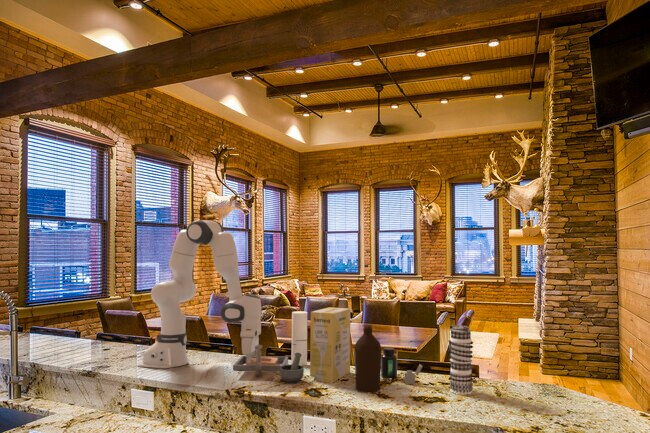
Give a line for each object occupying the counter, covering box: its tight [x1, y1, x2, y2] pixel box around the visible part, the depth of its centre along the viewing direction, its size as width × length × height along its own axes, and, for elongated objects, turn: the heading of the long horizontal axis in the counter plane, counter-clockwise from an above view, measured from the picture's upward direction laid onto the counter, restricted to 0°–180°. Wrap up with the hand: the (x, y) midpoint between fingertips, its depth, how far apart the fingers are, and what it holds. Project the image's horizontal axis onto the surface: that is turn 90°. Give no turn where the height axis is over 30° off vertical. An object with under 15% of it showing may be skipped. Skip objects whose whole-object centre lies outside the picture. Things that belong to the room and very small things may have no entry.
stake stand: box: [237, 344, 278, 382], centre depth 197 cm, size 14×14×14 cm
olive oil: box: [353, 323, 383, 393], centre depth 186 cm, size 11×11×25 cm
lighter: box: [404, 363, 423, 385], centre depth 192 cm, size 7×2×8 cm, turn 75°
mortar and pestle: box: [279, 353, 305, 384], centre depth 190 cm, size 11×9×12 cm
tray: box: [232, 355, 289, 372], centre depth 215 cm, size 22×18×4 cm
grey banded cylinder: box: [448, 324, 474, 395], centre depth 183 cm, size 9×9×25 cm
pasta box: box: [309, 306, 351, 384], centre depth 204 cm, size 18×10×28 cm, turn 154°
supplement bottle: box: [380, 347, 398, 379], centre depth 203 cm, size 7×7×12 cm
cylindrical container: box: [290, 310, 308, 367], centre depth 219 cm, size 7×7×25 cm
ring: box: [245, 357, 278, 365], centre depth 215 cm, size 14×10×3 cm
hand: (250, 360), depth 215 cm, fingers open, 4 cm apart
